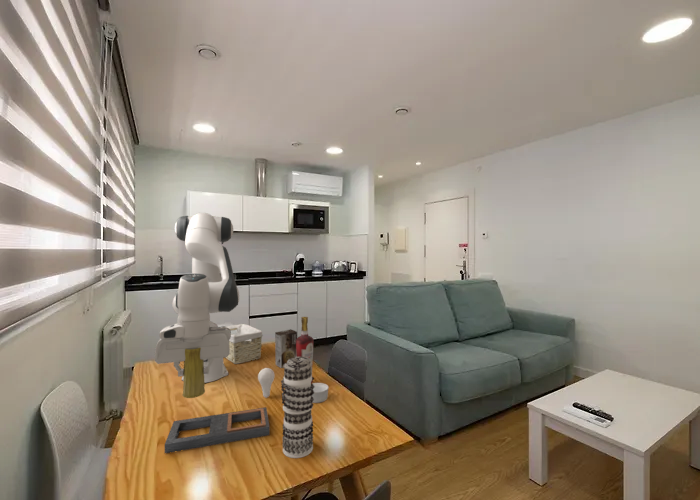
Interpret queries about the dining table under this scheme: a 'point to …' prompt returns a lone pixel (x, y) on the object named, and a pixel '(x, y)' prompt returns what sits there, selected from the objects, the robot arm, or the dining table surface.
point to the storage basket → (244, 343)
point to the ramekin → (320, 392)
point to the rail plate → (217, 429)
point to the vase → (193, 374)
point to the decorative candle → (297, 407)
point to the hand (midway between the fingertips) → (193, 374)
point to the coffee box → (285, 346)
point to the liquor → (305, 343)
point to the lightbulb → (266, 380)
